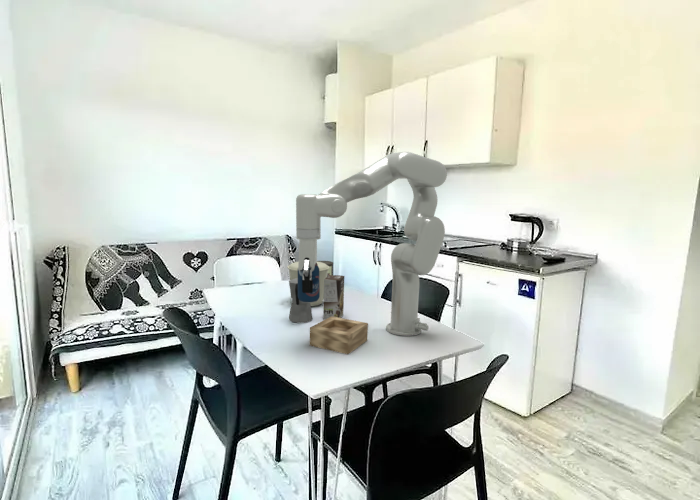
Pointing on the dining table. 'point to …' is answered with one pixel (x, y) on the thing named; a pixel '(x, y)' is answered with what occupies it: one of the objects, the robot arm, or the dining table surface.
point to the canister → (322, 274)
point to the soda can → (316, 287)
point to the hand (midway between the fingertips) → (308, 289)
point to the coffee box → (333, 296)
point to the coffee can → (330, 264)
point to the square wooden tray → (339, 334)
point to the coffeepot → (298, 305)
